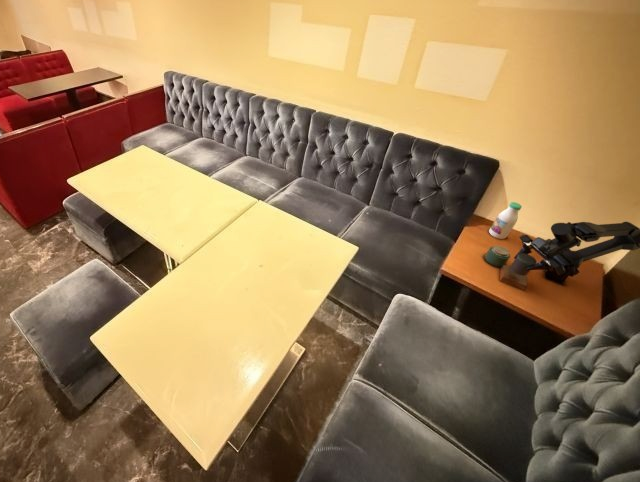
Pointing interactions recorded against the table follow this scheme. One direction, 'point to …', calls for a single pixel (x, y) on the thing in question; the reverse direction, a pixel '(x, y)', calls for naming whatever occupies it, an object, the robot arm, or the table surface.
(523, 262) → the cap
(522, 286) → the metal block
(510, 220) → the milk bottle
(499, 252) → the green cylinder
